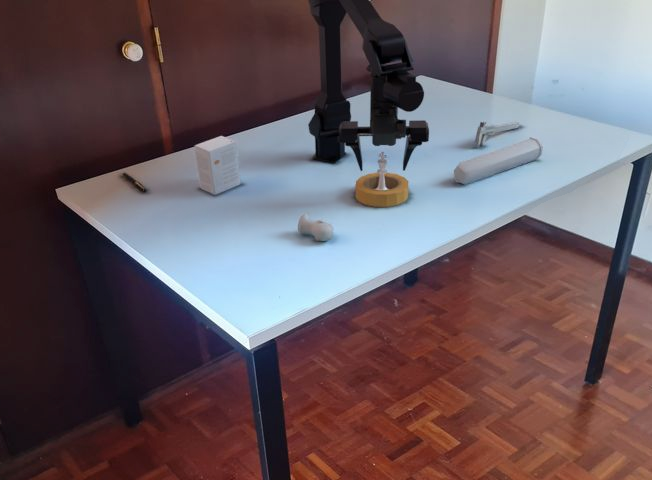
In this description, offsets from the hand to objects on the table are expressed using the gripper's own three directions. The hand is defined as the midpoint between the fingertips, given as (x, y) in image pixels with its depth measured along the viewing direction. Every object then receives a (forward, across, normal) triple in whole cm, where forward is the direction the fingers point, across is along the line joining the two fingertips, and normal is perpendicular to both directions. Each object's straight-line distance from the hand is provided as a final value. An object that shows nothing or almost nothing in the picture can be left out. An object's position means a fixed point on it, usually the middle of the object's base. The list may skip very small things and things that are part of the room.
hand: (382, 170), depth 154 cm
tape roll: (+6, 0, 0) cm, 6 cm away
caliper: (+6, +31, +35) cm, 47 cm away
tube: (+6, +27, +13) cm, 30 cm away
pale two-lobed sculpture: (+6, -13, -19) cm, 24 cm away
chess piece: (+6, 0, 0) cm, 6 cm away
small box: (+6, -37, +5) cm, 38 cm away
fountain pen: (+6, -58, +7) cm, 59 cm away
